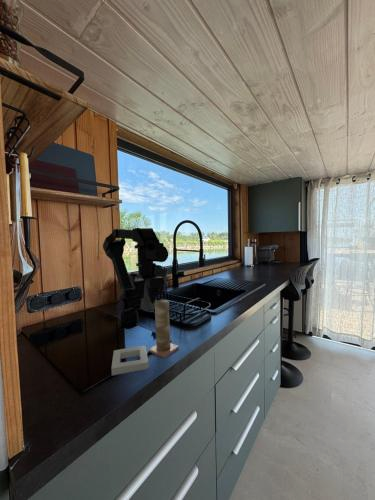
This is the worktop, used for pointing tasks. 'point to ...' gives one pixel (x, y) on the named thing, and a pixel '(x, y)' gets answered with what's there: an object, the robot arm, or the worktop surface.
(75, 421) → the worktop surface
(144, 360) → the holder
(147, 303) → the coffeepot
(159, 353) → the tile
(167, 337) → the peg
